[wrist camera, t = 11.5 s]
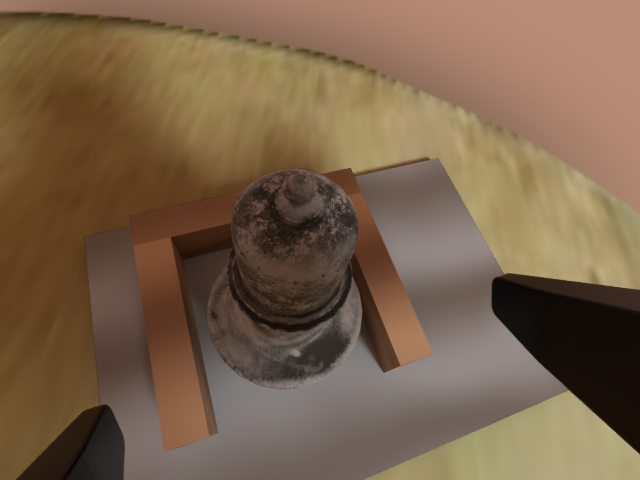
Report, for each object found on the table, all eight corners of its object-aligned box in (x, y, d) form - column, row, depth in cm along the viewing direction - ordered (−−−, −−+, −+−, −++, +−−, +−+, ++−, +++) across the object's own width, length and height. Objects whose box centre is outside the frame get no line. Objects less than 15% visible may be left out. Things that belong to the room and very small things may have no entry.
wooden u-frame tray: (560, 390, 18) (612, 385, 15) (123, 580, 13) (83, 621, 11) (434, 163, 24) (456, 129, 21) (89, 241, 19) (58, 210, 16)
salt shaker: (247, 254, 19) (212, 30, 8) (358, 289, 19) (474, 109, 8) (197, 372, 16) (48, 273, 5) (327, 414, 16) (437, 397, 5)
